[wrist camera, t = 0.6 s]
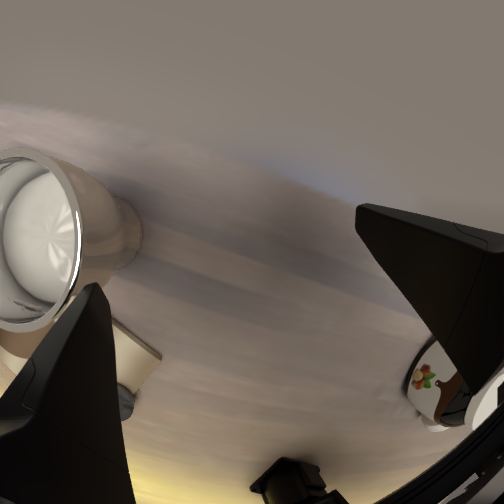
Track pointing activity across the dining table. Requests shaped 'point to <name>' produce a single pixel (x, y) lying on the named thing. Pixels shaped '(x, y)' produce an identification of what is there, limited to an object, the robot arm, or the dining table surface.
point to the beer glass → (56, 236)
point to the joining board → (126, 346)
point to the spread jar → (447, 392)
